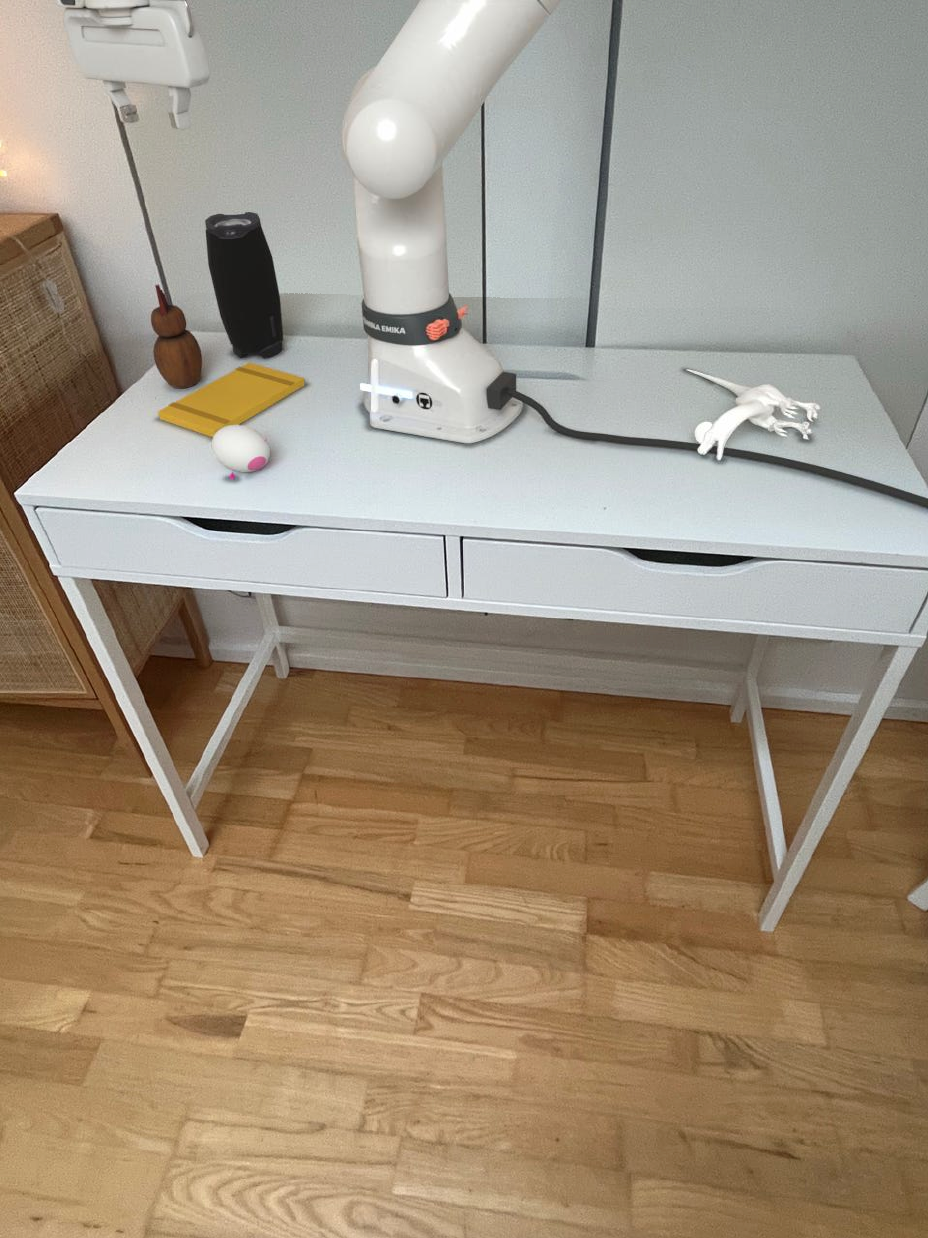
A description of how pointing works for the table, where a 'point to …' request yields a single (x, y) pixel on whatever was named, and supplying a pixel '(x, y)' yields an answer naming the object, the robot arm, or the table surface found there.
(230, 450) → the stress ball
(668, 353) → the table surface
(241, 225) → the portable speaker
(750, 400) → the dinosaur
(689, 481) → the table surface
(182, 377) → the wooden figurine
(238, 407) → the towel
